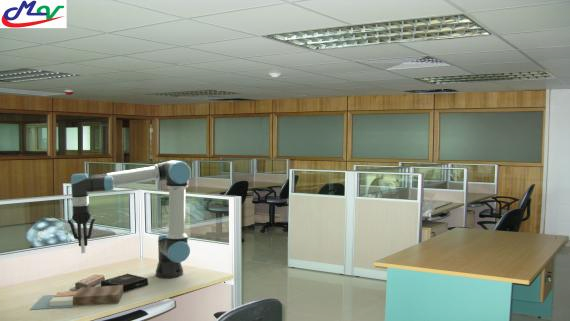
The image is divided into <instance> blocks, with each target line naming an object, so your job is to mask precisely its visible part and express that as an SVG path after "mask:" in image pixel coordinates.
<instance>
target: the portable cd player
mask: <svg viewBox="0 0 570 321" xmlns="http://www.w3.org/2000/svg"><path fill="white" fill-rule="evenodd" d="M117 285H123V294H125V293H127V292H130V291H132V290H136V289H139V288H142V287H146V286H148V285H149V278H148V277H144V276H139V275H134V274H131V273H125V274H122V275H118V276H114V277H110V278H107V279H106V278H105V280H103V281H101V286H117Z"/></svg>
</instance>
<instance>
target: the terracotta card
mask: <svg viewBox="0 0 570 321" xmlns="http://www.w3.org/2000/svg"><path fill="white" fill-rule="evenodd" d="M76 293H77V291H61V292H59V291H58V292H57V293H55V294H54V295H55V297H69V296H74V295H75V294H76Z"/></svg>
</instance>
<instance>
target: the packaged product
mask: <svg viewBox="0 0 570 321" xmlns="http://www.w3.org/2000/svg"><path fill="white" fill-rule="evenodd" d="M103 280H106V278H105V276H104V275H103V274H93V275H91V276H88V277H86V278H83V279H81V280H78V281H77V282H75V283H74V287H71V288H70V289H69V290H70V291H69V292H72V291H78V290H79V289H80V288H82V287H100V286H101V281H103Z"/></svg>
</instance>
